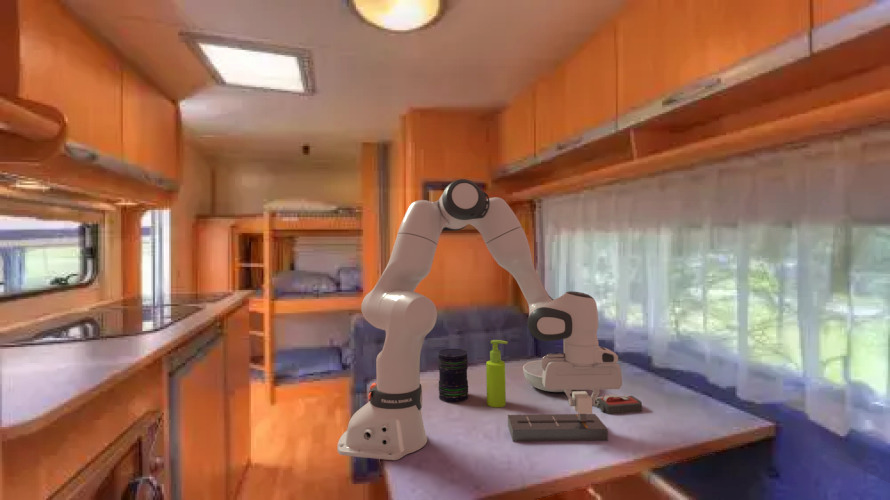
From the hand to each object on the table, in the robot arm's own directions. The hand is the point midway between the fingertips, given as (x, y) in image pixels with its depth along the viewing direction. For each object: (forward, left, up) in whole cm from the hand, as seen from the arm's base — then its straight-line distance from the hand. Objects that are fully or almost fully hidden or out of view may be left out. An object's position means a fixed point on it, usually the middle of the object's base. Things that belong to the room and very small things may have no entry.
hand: (581, 405), depth 106 cm
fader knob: (0, 0, -4) cm, 4 cm away
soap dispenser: (-20, +20, -7) cm, 29 cm away
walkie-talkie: (+13, +16, -8) cm, 22 cm away
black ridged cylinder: (-34, +26, -7) cm, 43 cm away
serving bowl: (+1, +34, -8) cm, 35 cm away
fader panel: (-7, 0, -7) cm, 10 cm away
